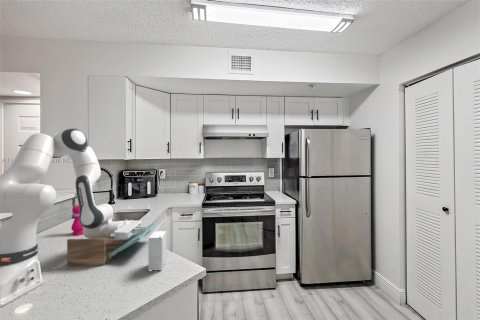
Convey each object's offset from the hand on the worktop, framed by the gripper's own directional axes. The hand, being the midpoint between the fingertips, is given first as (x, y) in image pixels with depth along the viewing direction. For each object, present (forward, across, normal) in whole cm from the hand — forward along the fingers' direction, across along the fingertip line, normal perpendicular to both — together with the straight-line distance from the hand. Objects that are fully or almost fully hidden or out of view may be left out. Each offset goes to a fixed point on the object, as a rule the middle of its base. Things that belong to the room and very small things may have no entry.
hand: (144, 229), depth 119 cm
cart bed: (-20, 0, +11) cm, 23 cm away
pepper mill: (-52, +30, +11) cm, 61 cm away
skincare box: (+12, -20, +11) cm, 26 cm away
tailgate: (-12, 0, +8) cm, 14 cm away
